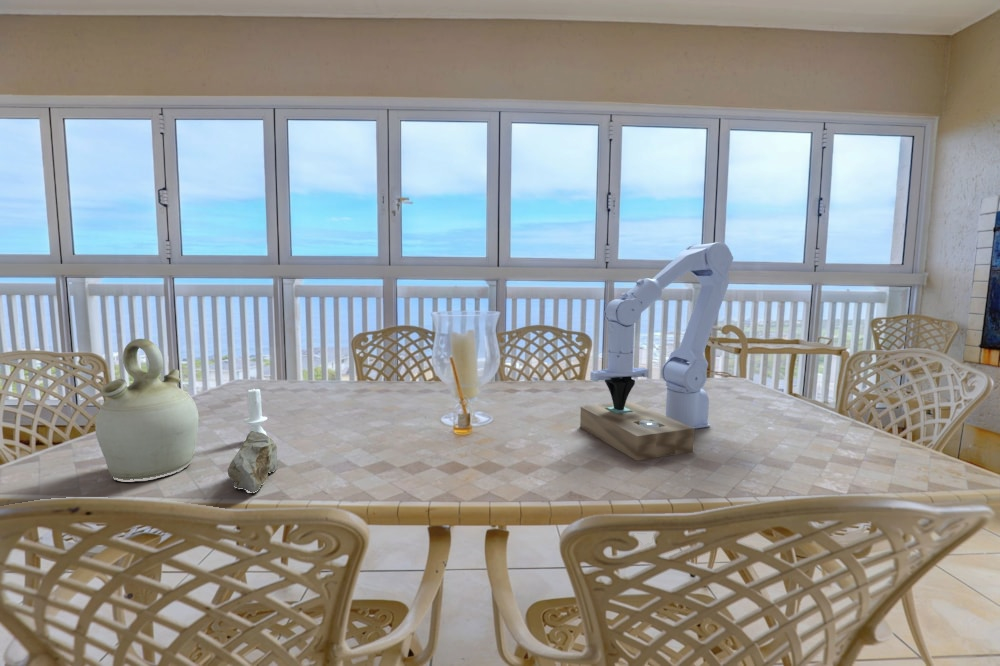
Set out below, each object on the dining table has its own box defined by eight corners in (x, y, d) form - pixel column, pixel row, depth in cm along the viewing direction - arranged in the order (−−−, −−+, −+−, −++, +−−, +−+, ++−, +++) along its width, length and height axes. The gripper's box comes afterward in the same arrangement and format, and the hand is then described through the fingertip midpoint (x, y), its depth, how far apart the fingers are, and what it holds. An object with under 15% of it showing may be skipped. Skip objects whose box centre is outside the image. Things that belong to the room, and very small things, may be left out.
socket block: (629, 420, 117) (629, 401, 117) (693, 451, 97) (694, 428, 96) (580, 427, 112) (580, 406, 112) (636, 460, 92) (637, 436, 91)
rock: (244, 461, 89) (242, 418, 85) (281, 463, 90) (280, 421, 86) (216, 510, 78) (212, 463, 74) (258, 512, 79) (256, 466, 75)
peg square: (620, 426, 112) (621, 405, 112) (630, 431, 108) (631, 410, 108) (606, 427, 111) (606, 407, 110) (615, 433, 107) (616, 411, 106)
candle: (274, 440, 104) (271, 387, 102) (248, 446, 100) (244, 391, 99) (264, 434, 108) (261, 383, 106) (239, 440, 104) (236, 387, 102)
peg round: (649, 441, 102) (650, 419, 101) (662, 447, 98) (663, 425, 98) (634, 443, 101) (635, 421, 100) (646, 450, 97) (647, 427, 96)
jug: (122, 495, 78) (106, 347, 75) (86, 475, 86) (71, 340, 83) (217, 464, 90) (207, 336, 87) (179, 449, 99) (168, 331, 96)
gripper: (636, 347, 114) (634, 401, 115) (584, 350, 109) (582, 407, 110) (655, 351, 107) (652, 409, 109) (600, 355, 102) (598, 415, 104)
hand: (618, 408), depth 109 cm, fingers closed, pressing on peg square
